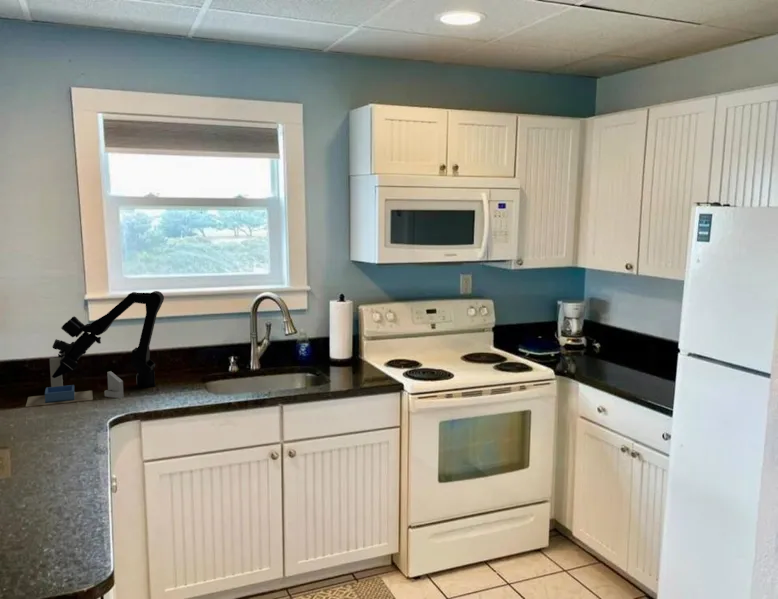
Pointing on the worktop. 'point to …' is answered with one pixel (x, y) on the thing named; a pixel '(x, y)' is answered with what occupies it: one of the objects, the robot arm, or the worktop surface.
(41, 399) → the board
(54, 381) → the connector column
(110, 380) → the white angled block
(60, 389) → the box
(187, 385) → the worktop surface
